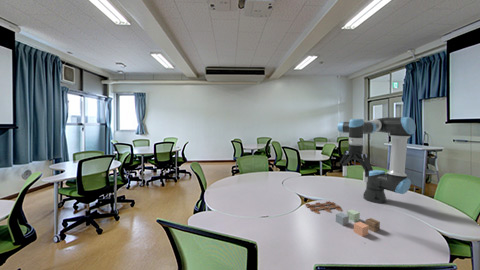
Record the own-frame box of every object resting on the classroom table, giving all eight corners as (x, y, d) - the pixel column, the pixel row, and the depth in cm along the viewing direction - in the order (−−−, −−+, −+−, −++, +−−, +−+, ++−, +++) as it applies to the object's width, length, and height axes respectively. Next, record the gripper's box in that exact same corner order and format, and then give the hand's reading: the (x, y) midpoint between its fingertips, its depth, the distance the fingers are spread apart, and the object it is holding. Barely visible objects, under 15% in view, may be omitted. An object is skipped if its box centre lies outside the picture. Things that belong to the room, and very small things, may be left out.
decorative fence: (303, 205, 146) (314, 215, 131) (303, 203, 146) (315, 212, 131) (330, 202, 150) (344, 211, 136) (330, 200, 150) (345, 209, 135)
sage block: (352, 216, 127) (352, 209, 127) (359, 220, 123) (359, 212, 122) (346, 218, 125) (347, 210, 125) (354, 222, 121) (354, 214, 120)
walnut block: (370, 225, 116) (371, 217, 116) (379, 230, 112) (380, 221, 111) (365, 227, 114) (365, 219, 114) (374, 232, 110) (374, 223, 109)
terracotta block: (359, 229, 112) (359, 221, 112) (368, 234, 108) (368, 225, 107) (353, 231, 110) (353, 223, 110) (362, 236, 106) (362, 227, 105)
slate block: (341, 220, 123) (341, 212, 123) (348, 223, 119) (348, 216, 118) (335, 221, 121) (335, 214, 121) (342, 225, 117) (343, 217, 116)
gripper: (334, 142, 128) (333, 174, 130) (372, 147, 105) (370, 185, 107) (342, 141, 131) (341, 172, 133) (381, 146, 108) (379, 183, 110)
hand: (354, 178), depth 120 cm, fingers open, 13 cm apart
